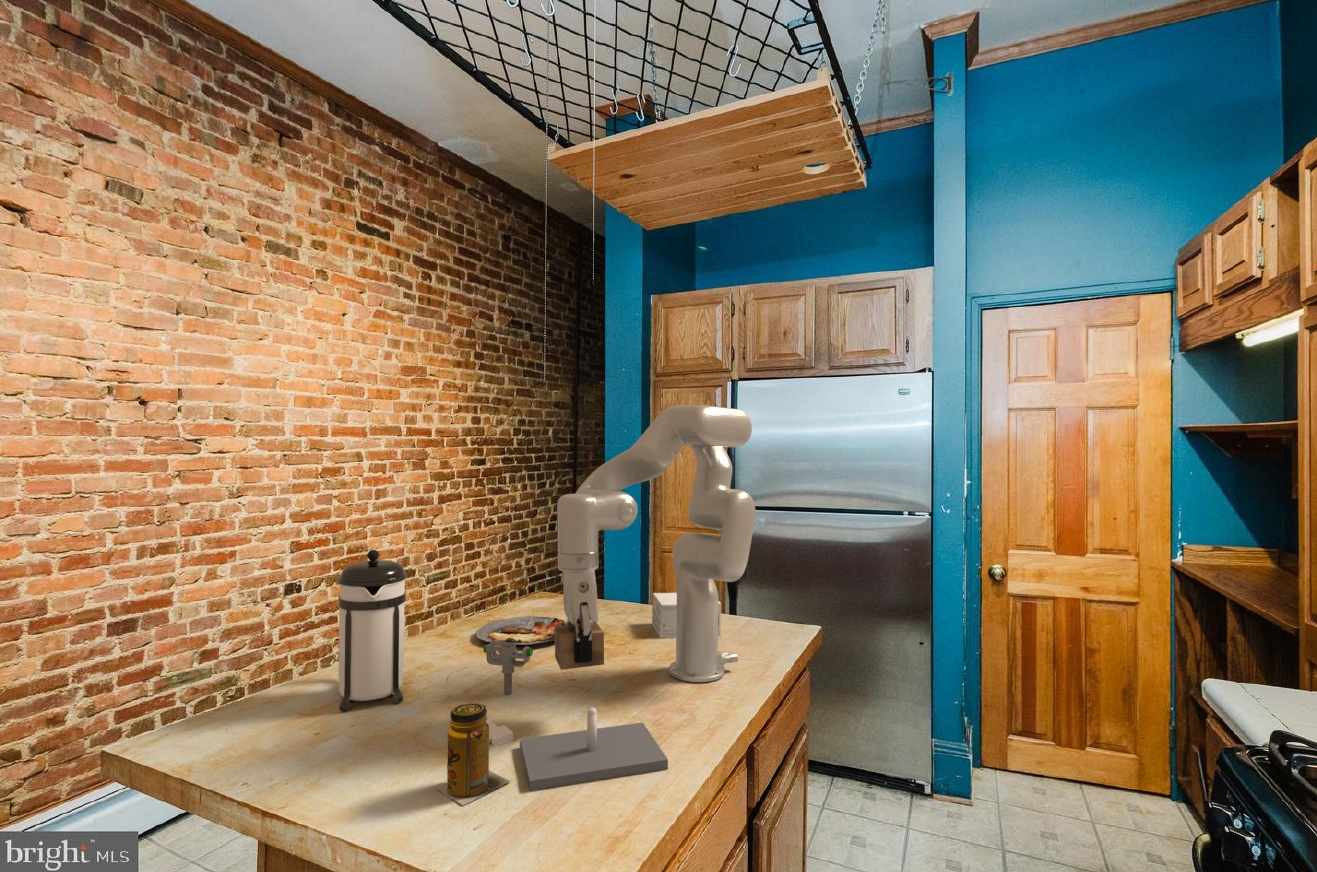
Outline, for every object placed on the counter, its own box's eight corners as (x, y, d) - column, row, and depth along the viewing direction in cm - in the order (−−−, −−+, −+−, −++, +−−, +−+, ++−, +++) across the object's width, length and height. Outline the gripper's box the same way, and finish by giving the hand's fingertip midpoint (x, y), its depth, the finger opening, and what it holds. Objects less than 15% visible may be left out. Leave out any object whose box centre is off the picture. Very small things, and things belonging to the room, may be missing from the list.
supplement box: (660, 639, 170) (660, 604, 170) (651, 625, 183) (652, 592, 183) (721, 636, 173) (721, 602, 173) (709, 622, 186) (709, 590, 186)
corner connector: (452, 736, 114) (452, 727, 114) (495, 724, 119) (495, 716, 119) (468, 755, 108) (468, 745, 108) (513, 741, 113) (513, 732, 113)
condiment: (435, 788, 97) (436, 709, 97) (483, 766, 103) (484, 692, 103) (462, 806, 92) (463, 723, 92) (511, 783, 99) (512, 705, 99)
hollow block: (596, 652, 125) (595, 621, 125) (604, 664, 118) (603, 632, 118) (555, 656, 122) (554, 625, 122) (560, 669, 116) (560, 637, 116)
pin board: (642, 730, 117) (643, 685, 117) (667, 768, 103) (668, 717, 103) (519, 747, 110) (520, 699, 110) (529, 790, 97) (530, 735, 97)
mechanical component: (527, 698, 130) (528, 649, 130) (481, 694, 132) (481, 645, 132) (533, 693, 133) (534, 645, 133) (488, 688, 135) (488, 641, 135)
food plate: (585, 626, 180) (584, 613, 180) (552, 654, 157) (552, 640, 157) (503, 621, 185) (502, 609, 185) (460, 648, 163) (460, 635, 163)
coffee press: (430, 689, 134) (432, 546, 134) (367, 719, 120) (369, 559, 120) (371, 675, 142) (372, 540, 142) (304, 702, 127) (306, 551, 127)
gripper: (608, 568, 113) (609, 668, 113) (588, 550, 129) (589, 637, 130) (566, 571, 111) (567, 674, 111) (551, 552, 127) (552, 642, 127)
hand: (579, 653), depth 120 cm, fingers closed on hollow block, 6 cm apart
